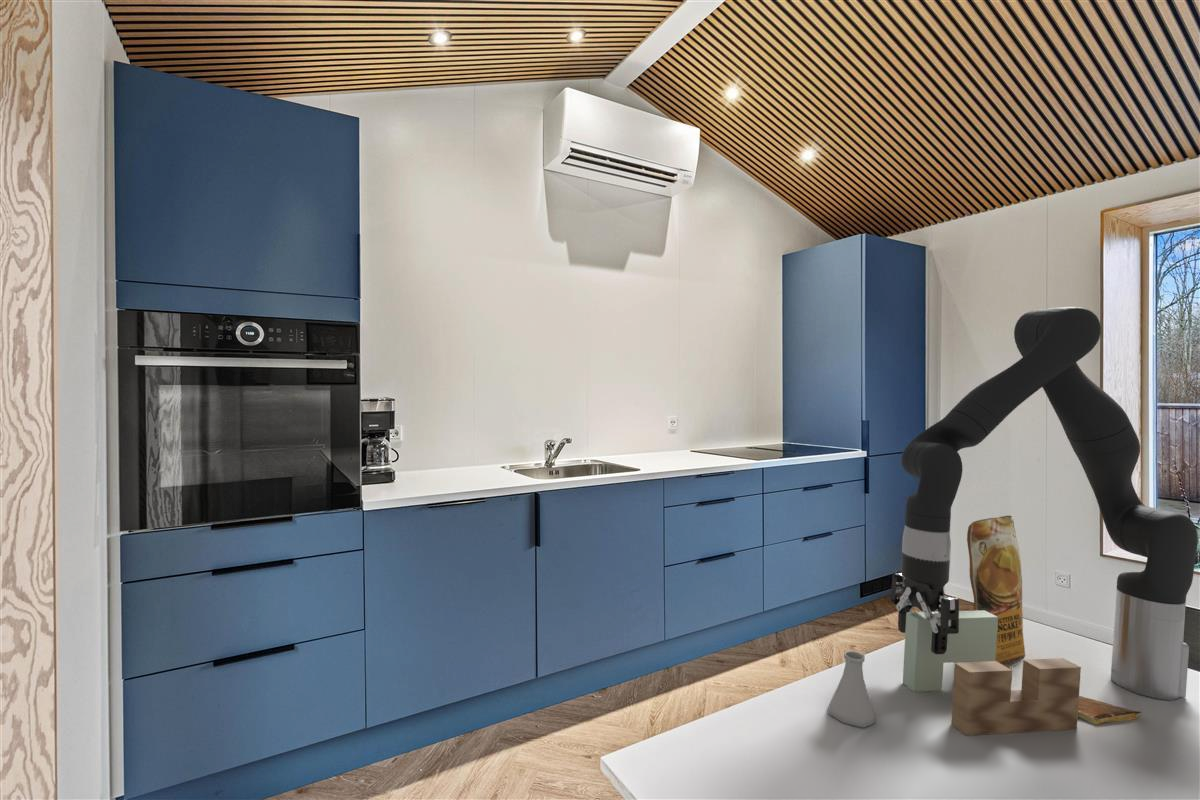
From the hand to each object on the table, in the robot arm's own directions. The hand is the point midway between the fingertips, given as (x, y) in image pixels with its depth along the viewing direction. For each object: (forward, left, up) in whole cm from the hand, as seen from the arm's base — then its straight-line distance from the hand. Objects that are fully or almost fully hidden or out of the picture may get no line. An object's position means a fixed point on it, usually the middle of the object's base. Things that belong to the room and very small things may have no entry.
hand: (920, 642), depth 103 cm
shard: (-27, +2, -9) cm, 28 cm away
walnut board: (-10, +10, -8) cm, 17 cm away
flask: (+15, +11, -8) cm, 21 cm away
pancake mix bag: (-21, -16, -8) cm, 28 cm away
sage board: (-6, -2, -8) cm, 10 cm away
